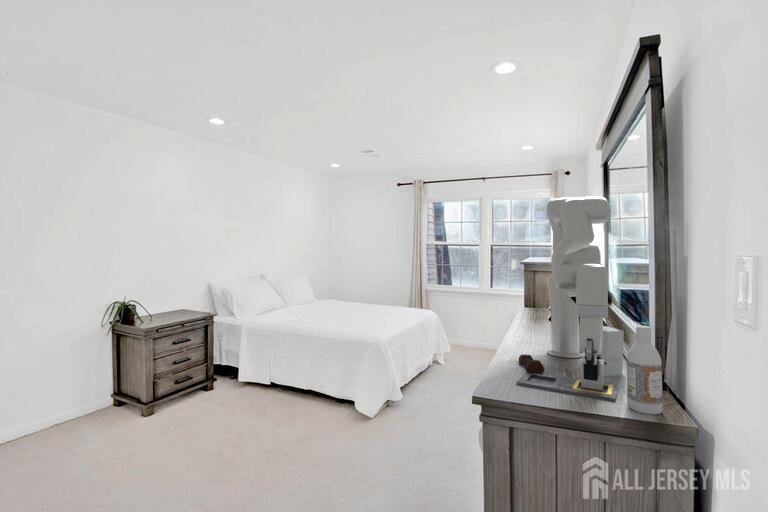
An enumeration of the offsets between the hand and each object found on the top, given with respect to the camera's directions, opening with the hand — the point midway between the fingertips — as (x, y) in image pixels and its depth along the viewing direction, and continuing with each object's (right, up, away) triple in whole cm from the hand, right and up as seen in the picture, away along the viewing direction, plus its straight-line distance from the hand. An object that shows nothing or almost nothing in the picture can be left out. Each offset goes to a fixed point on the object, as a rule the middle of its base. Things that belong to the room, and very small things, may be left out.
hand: (592, 375), depth 103 cm
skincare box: (+13, -5, +17) cm, 22 cm away
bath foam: (+7, -5, -11) cm, 14 cm away
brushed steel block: (0, -4, 0) cm, 4 cm away
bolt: (-8, -6, +23) cm, 25 cm away
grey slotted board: (-5, -5, +4) cm, 8 cm away
